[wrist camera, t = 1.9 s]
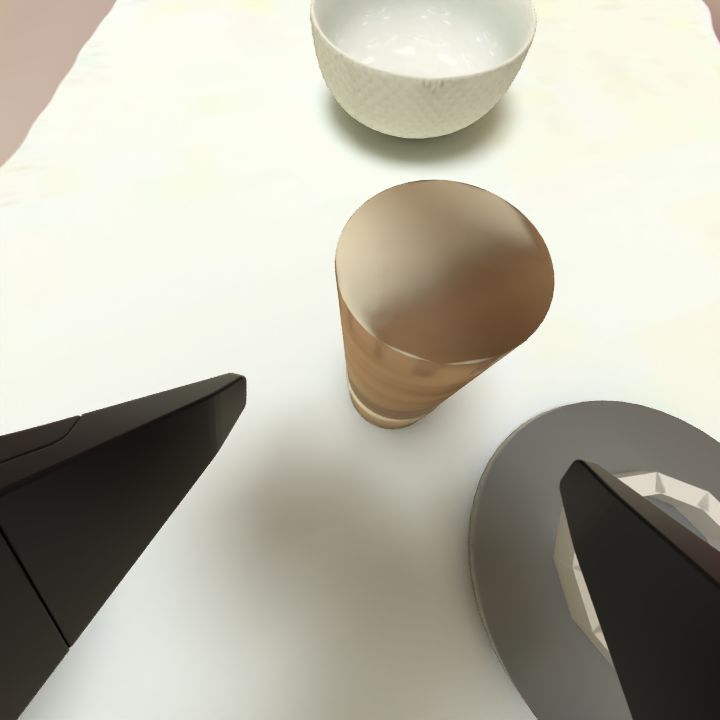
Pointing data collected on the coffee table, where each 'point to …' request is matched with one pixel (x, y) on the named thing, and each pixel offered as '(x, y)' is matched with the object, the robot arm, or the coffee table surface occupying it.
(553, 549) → the round tray
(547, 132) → the coffee table surface
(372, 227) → the brown cylindrical container
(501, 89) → the cereal bowl
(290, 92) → the coffee table surface
